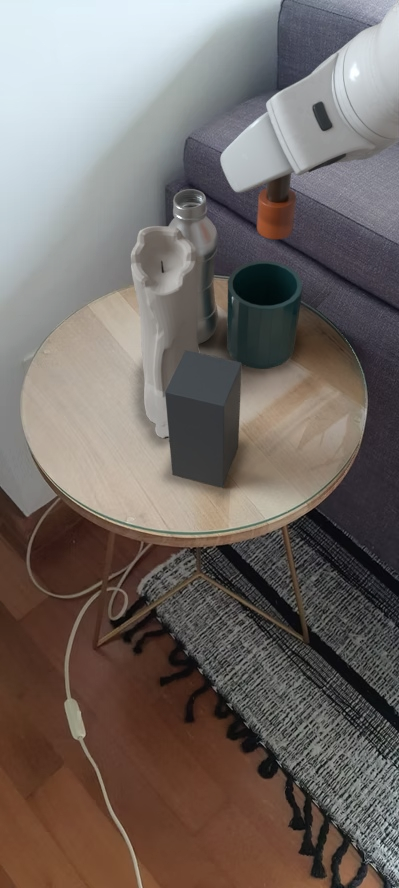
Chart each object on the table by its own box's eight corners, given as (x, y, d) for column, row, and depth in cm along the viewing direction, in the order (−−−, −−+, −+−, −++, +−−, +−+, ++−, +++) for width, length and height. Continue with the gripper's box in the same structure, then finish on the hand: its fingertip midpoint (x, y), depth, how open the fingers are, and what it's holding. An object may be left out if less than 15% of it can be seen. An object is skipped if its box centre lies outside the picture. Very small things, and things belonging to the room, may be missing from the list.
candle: (143, 439, 81) (125, 308, 65) (144, 355, 89) (128, 221, 73) (204, 436, 81) (201, 305, 65) (200, 352, 89) (196, 218, 73)
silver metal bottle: (161, 343, 90) (149, 209, 74) (181, 310, 94) (174, 176, 78) (207, 356, 89) (205, 222, 73) (225, 322, 92) (227, 188, 77)
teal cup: (301, 329, 91) (309, 268, 84) (285, 375, 86) (292, 315, 78) (237, 315, 93) (239, 254, 85) (218, 360, 88) (218, 300, 80)
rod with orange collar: (272, 213, 78) (282, 88, 67) (300, 228, 77) (315, 101, 66) (249, 229, 77) (256, 103, 66) (277, 244, 75) (289, 117, 64)
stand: (238, 447, 80) (241, 362, 69) (223, 488, 76) (224, 406, 65) (189, 435, 81) (185, 349, 70) (172, 475, 77) (164, 391, 66)
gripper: (430, 29, 61) (335, 99, 74) (258, 100, 54) (185, 164, 66) (456, 98, 63) (359, 155, 75) (292, 177, 55) (214, 226, 68)
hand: (276, 160), depth 71 cm, fingers closed on rod with orange collar, 2 cm apart
